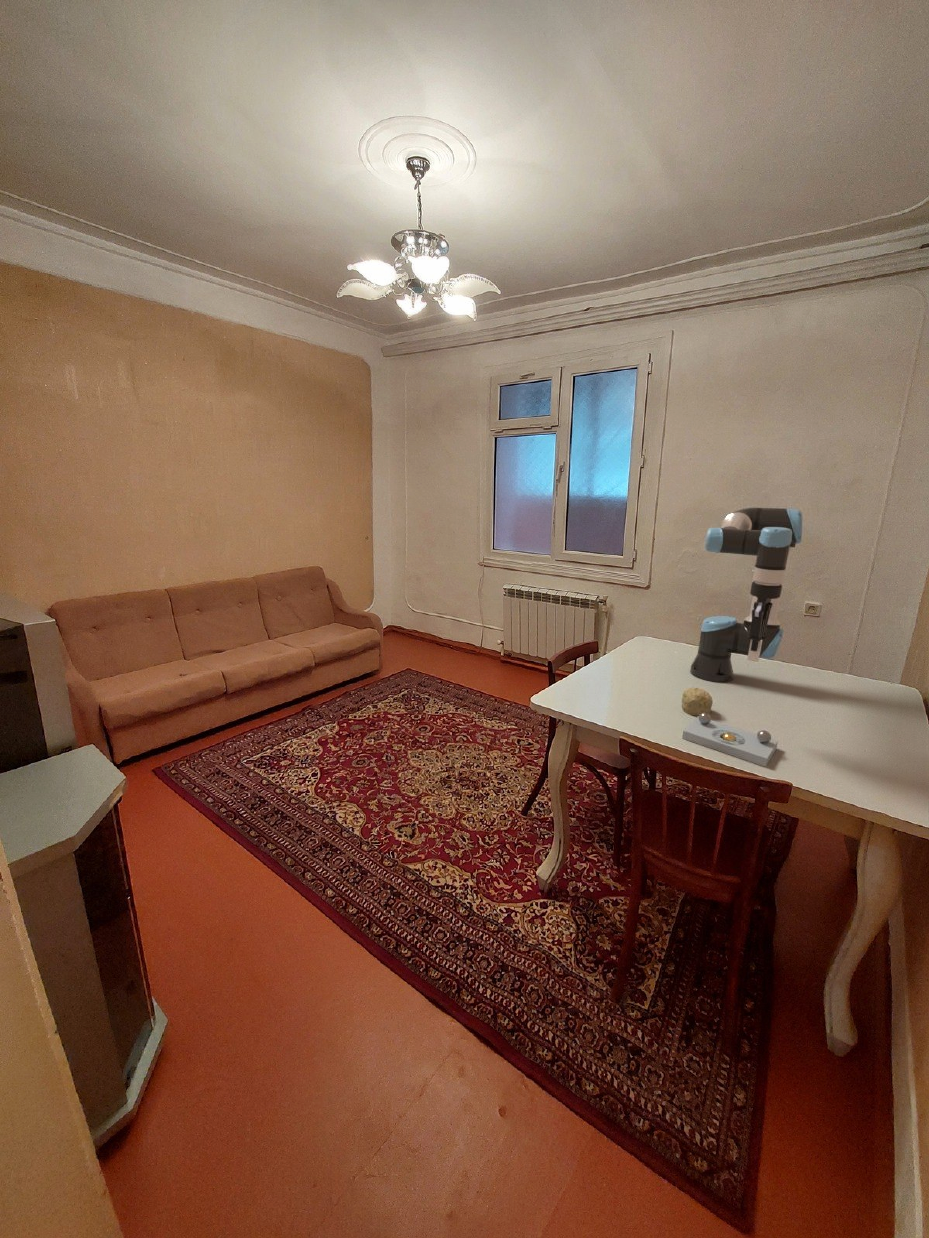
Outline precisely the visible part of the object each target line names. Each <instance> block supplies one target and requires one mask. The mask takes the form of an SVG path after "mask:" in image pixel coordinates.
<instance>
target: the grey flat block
mask: <svg viewBox="0 0 929 1238" xmlns="http://www.w3.org/2000/svg"><path fill="white" fill-rule="evenodd" d="M726 733H730V734H732V735H733V736H734V737H735V741H734V742H731V741H726V740H724V739H722V736H723V735H724V734H726ZM757 734H758V733H754V732H751V731H747V730H745V729H741V728H738V727H736V726H735V727H734V726H731V725H728V724H725V723H722V722H719V721H715V720H712V719H711V722H710V723H709V724H702V723H701V722H700V721H699V716H697V717H696V718H695V719H693V721H691V723H689V724H688V726H687V727H686V728H684V729H683V730H682V739H683V740H685V741H689V742H692V743H695V744H697V745H701V746H704V747H707V748H709V749H712V750H715V751H719V752H721V753H723V754H727V755H730V756H733V757H736V758H738V759H742V760H744V761H747V762H750V763H754V764H756V765H759V766H762V767H764V768H766V767H767V765H768V764H769V762H770V760H771V759H772V757H773V755H774V753H775V752H776V750H777V747H778V743H779V740H777V739H774V738H771V740H770V741H769V742H768V743H762V742H760V741H759V740H758V739H757Z"/></svg>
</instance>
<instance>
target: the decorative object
mask: <svg viewBox="0 0 929 1238" xmlns="http://www.w3.org/2000/svg"><path fill="white" fill-rule="evenodd" d="M712 707H713V696H711V694H710V693H709V692H707V690H705V689H703V688H698V687H689V688H685V690H683V693H682V697H681V709H682V710H683V712H685V713H687V714H688V715H692V716H697V717H698V716H699V715H700V714H701V713H708V714H709V715H710V713H711V711H712Z"/></svg>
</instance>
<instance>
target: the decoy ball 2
mask: <svg viewBox="0 0 929 1238" xmlns="http://www.w3.org/2000/svg"><path fill="white" fill-rule="evenodd" d="M756 734H757V739H758V740H759V741H760V742H762V743H768V742H769V741H770V740H771V739H772V735H771V733H770V732H769V731H767V730H760V731H758V732H757V733H756Z"/></svg>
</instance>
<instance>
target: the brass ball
mask: <svg viewBox="0 0 929 1238" xmlns="http://www.w3.org/2000/svg"><path fill="white" fill-rule="evenodd" d="M722 739H724V740H726V741H731V742H734V741H735V737H734V736H733V735H732V734H730V733H726V734H724V735H723V736H722Z"/></svg>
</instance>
